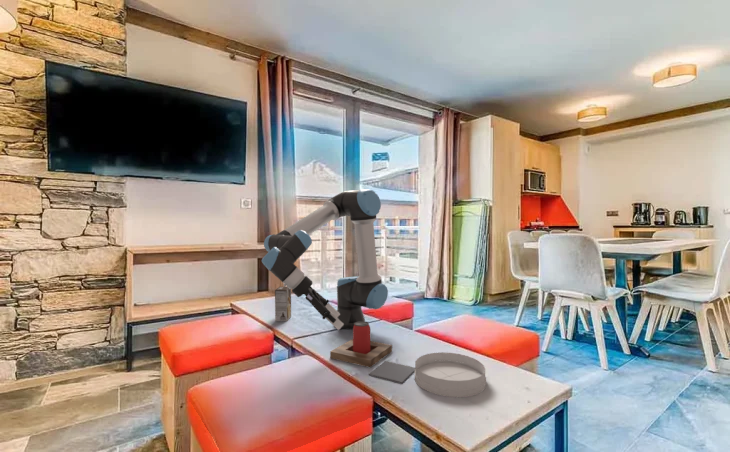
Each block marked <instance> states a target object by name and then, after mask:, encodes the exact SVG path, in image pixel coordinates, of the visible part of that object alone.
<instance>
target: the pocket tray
mask: <svg viewBox="0 0 730 452" xmlns="http://www.w3.org/2000/svg"><path fill="white" fill-rule="evenodd" d="M392 352H393V345H392V344H388V343H384V342H379V341H378V342H377V341H373V340H370V352H369V353H367V354H362V353H358V352H353V338H352V339H350V340H348V341H347V342H344V343H343V344H341V345H339V346H337V347H335V348H333V349H331V350H330V351H329V355H330V356H329V357H330V359H333V360H338V361H341V362H345V363H349V364H354V365H356V366H363V367H367V368H371V367H374V365H376V364H377V363H379V361H381V360H383V359H384V358H385V357H387V356H388V355H389V354H391V353H392Z"/></svg>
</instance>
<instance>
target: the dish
mask: <svg viewBox="0 0 730 452" xmlns="http://www.w3.org/2000/svg"><path fill="white" fill-rule="evenodd" d="M414 362H415V367H414V368H415V372H414V381H415V382H416V384H417V385H418V387H420V388H421V389H423V390H425V391H427V392H428V393H431V394H434V395H437V396H441V397H442V396H444V397H448V398H466V397H472V396H476V395H479V394H480V393H483V391H484V390H485V389H486V386H487V377H486V368H485V367H486V366H485V365H484V364H483V363H482V362H481V361H480V360H478V359H476V358H474V357H471V356H468V355H464V354H460V353H454V352H432V353H426V354H423V355H421V356H419V357H418V358H416V360H415V361H414Z"/></svg>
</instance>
